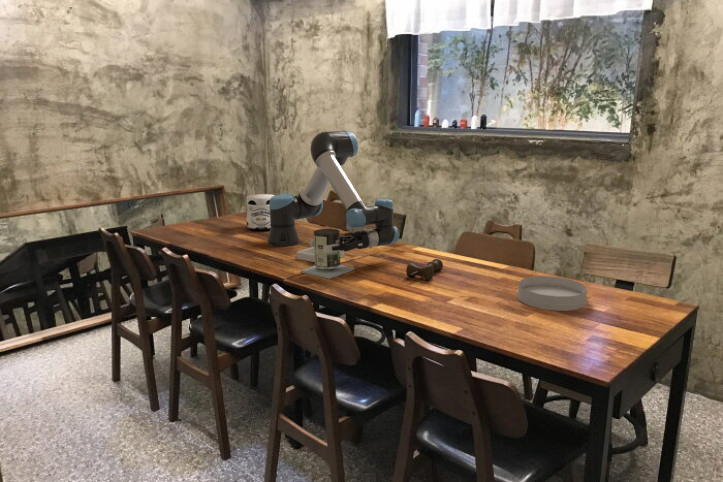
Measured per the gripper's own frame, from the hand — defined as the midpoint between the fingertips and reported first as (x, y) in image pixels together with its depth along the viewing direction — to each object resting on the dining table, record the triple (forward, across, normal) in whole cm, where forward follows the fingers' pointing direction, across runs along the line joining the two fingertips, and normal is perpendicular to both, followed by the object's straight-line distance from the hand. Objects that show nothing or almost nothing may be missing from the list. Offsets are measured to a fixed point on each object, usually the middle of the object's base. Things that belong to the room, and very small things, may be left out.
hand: (317, 246), depth 214 cm
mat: (-4, 0, -11) cm, 12 cm away
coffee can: (-4, 0, -9) cm, 10 cm away
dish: (-50, -72, -11) cm, 88 cm away
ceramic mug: (-51, +52, -11) cm, 74 cm away
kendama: (-32, -27, -11) cm, 43 cm away
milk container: (-15, +91, -11) cm, 93 cm away
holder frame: (-12, +20, -11) cm, 25 cm away
